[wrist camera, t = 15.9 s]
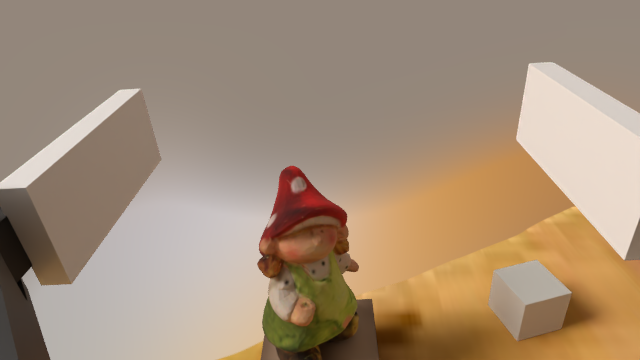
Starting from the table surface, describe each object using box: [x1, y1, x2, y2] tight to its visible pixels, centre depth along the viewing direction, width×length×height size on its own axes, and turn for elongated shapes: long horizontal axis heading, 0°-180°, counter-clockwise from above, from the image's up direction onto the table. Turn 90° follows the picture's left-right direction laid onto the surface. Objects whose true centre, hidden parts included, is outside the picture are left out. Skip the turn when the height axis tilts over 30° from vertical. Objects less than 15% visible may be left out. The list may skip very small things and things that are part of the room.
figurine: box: [258, 166, 359, 360], centre depth 41 cm, size 11×9×20 cm
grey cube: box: [488, 260, 572, 341], centre depth 53 cm, size 6×6×6 cm
